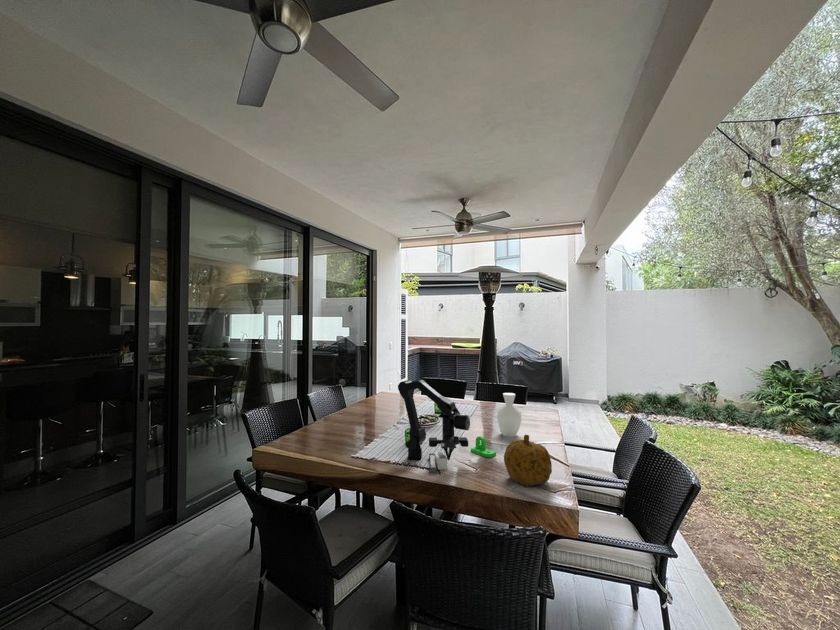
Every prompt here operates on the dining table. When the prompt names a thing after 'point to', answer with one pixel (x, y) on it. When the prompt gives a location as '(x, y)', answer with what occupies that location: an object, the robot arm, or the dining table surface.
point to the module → (441, 460)
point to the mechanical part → (482, 448)
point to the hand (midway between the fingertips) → (448, 459)
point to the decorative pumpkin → (527, 462)
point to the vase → (509, 416)
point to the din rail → (432, 463)
